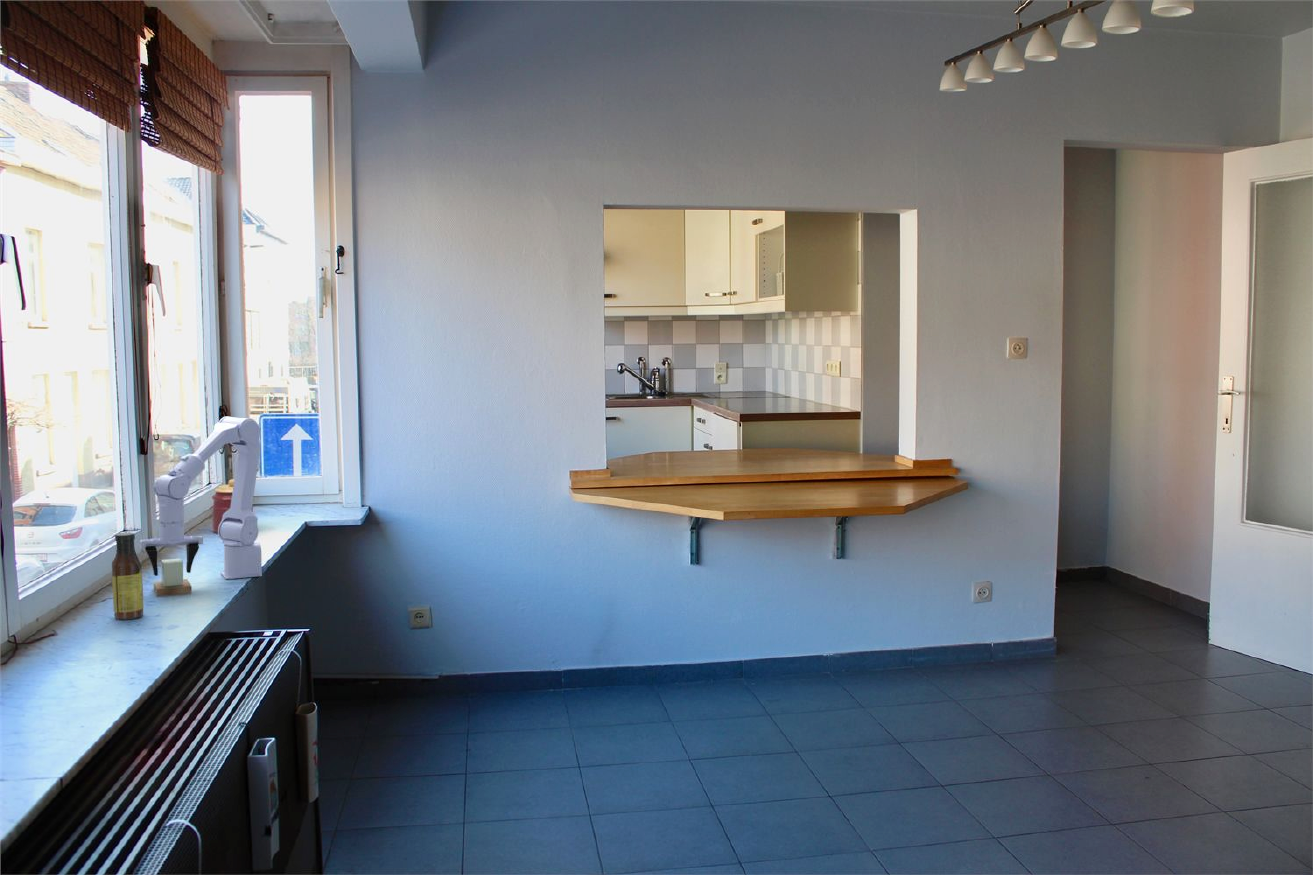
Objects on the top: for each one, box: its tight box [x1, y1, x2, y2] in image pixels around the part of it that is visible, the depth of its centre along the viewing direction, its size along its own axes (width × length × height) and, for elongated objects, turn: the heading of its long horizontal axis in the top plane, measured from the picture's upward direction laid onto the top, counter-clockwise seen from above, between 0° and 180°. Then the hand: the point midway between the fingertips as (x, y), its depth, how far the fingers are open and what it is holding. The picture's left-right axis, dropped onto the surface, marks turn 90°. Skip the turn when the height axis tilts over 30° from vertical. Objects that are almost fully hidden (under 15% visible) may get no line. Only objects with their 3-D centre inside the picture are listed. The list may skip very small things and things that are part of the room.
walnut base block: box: [153, 578, 192, 597], centre depth 260 cm, size 8×8×2 cm
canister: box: [211, 478, 254, 534], centre depth 340 cm, size 13×13×18 cm
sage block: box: [160, 558, 184, 586], centre depth 260 cm, size 4×4×6 cm
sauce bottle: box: [111, 531, 144, 620], centre depth 235 cm, size 6×6×20 cm
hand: (172, 573), depth 260 cm, fingers open, 7 cm apart
